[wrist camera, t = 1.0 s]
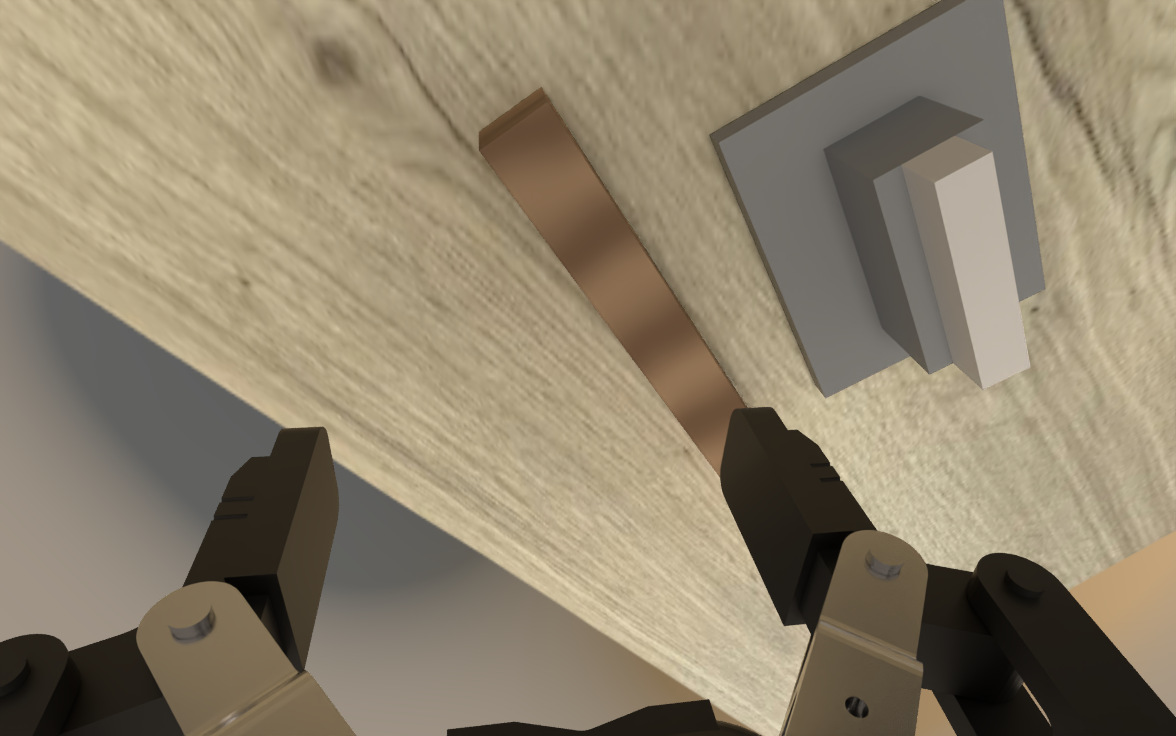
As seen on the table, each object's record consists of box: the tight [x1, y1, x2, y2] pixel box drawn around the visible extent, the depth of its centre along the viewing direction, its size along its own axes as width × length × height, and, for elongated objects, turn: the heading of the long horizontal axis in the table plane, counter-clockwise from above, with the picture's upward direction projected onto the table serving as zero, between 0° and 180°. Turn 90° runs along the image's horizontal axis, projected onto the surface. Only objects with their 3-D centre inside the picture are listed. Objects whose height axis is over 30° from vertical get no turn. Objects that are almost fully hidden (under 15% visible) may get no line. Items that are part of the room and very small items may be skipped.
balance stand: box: [710, 0, 1045, 398], centre depth 34 cm, size 14×18×9 cm
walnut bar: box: [479, 87, 747, 477], centre depth 37 cm, size 26×4×4 cm, turn 32°
